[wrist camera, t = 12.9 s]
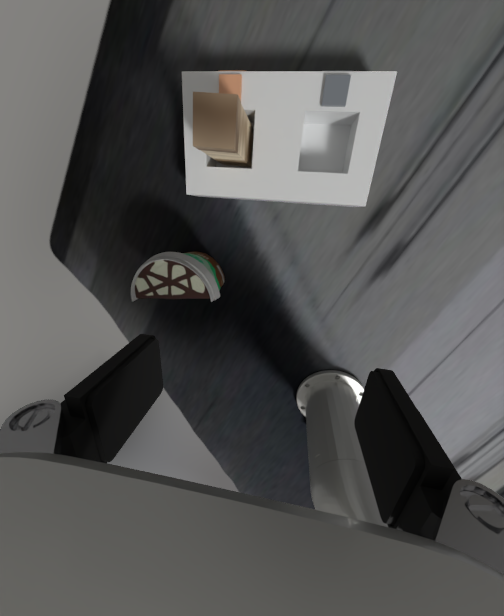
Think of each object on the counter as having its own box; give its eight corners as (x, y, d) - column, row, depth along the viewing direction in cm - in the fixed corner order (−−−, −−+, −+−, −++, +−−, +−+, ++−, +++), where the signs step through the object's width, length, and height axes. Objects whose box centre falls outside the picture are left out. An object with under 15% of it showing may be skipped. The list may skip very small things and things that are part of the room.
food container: (230, 242, 36) (209, 252, 27) (233, 280, 39) (215, 302, 30) (157, 245, 39) (116, 255, 29) (165, 281, 41) (128, 301, 32)
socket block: (355, 206, 32) (366, 206, 27) (200, 196, 35) (185, 194, 30) (380, 91, 27) (399, 64, 22) (198, 89, 30) (179, 65, 25)
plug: (251, 167, 31) (234, 149, 22) (221, 164, 32) (192, 145, 23) (254, 130, 30) (237, 94, 20) (223, 127, 30) (192, 91, 21)
